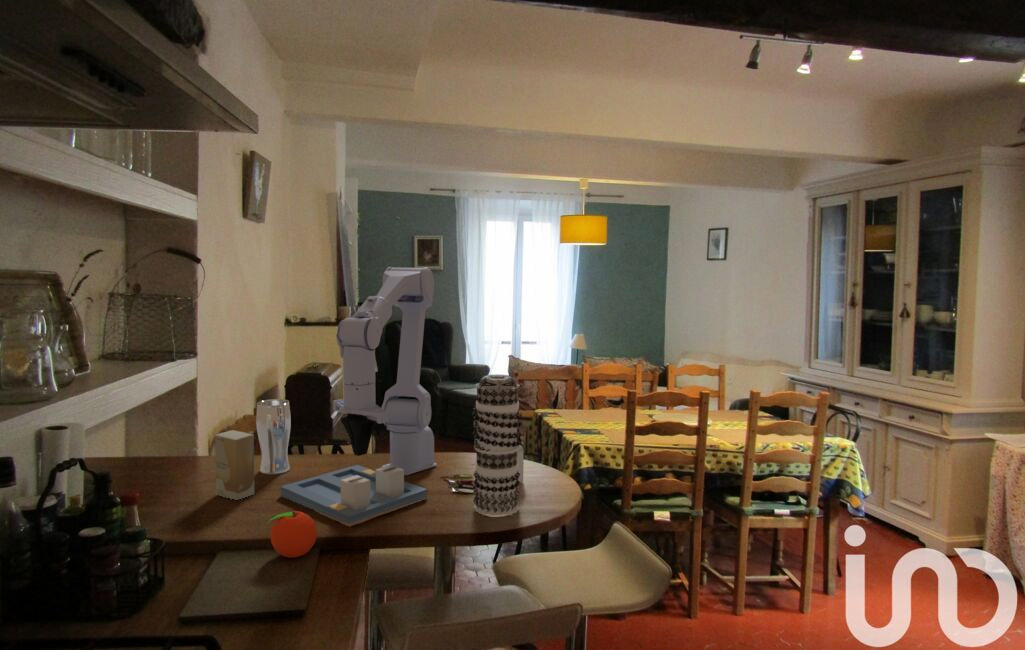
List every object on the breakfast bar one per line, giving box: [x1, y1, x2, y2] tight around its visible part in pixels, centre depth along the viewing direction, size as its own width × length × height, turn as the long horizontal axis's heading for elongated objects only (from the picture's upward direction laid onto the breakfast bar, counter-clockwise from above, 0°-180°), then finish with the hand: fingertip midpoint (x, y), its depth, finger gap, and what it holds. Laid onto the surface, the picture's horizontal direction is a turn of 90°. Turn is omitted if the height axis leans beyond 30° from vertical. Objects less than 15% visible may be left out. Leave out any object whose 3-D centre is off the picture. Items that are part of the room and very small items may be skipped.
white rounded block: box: [517, 444, 525, 485], centre depth 139 cm, size 4×6×12 cm
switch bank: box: [280, 464, 428, 524], centre depth 131 cm, size 18×22×2 cm
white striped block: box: [341, 475, 371, 510], centre depth 124 cm, size 4×4×5 cm
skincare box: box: [214, 429, 255, 501], centre depth 131 cm, size 6×4×12 cm
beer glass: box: [255, 398, 292, 476], centre depth 146 cm, size 7×7×15 cm
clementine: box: [263, 511, 318, 559], centre depth 106 cm, size 8×7×7 cm
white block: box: [375, 465, 405, 498], centre depth 130 cm, size 4×4×5 cm
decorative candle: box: [471, 374, 523, 515], centre depth 125 cm, size 9×9×25 cm
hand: (360, 454), depth 126 cm, fingers closed
